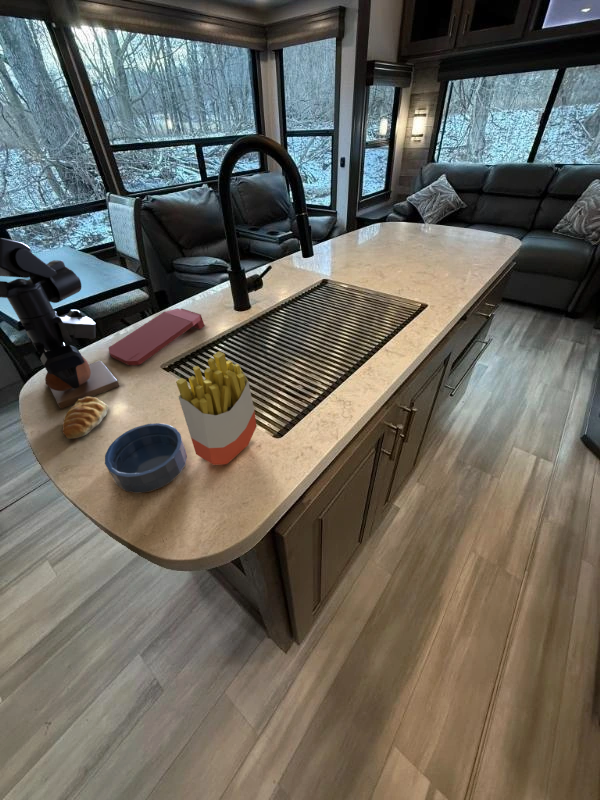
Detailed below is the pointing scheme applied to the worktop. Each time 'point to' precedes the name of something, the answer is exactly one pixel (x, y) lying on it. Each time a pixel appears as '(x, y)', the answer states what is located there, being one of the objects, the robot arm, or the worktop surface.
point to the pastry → (84, 417)
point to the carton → (154, 336)
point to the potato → (60, 385)
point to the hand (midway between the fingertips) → (72, 380)
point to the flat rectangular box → (88, 386)
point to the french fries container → (218, 410)
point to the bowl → (146, 457)
